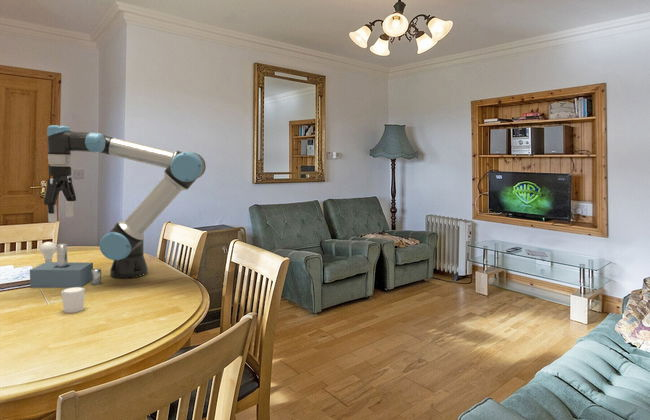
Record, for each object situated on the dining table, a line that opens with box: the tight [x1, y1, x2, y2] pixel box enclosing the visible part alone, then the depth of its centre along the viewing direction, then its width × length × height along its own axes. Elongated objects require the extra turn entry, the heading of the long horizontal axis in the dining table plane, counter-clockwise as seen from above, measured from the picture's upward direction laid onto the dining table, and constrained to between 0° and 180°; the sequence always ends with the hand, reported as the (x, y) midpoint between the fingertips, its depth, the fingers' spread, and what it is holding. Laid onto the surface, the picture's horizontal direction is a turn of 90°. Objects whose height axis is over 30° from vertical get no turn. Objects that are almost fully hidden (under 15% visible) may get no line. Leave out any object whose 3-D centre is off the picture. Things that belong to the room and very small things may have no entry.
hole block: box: [29, 261, 94, 289], centre depth 164 cm, size 18×12×7 cm, turn 98°
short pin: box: [90, 268, 102, 286], centre depth 165 cm, size 4×4×6 cm
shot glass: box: [60, 286, 86, 314], centre depth 137 cm, size 7×7×7 cm
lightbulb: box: [39, 241, 57, 263], centre depth 189 cm, size 6×6×11 cm
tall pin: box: [56, 243, 68, 268], centre depth 164 cm, size 4×4×16 cm
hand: (61, 219), depth 162 cm, fingers open, 13 cm apart
